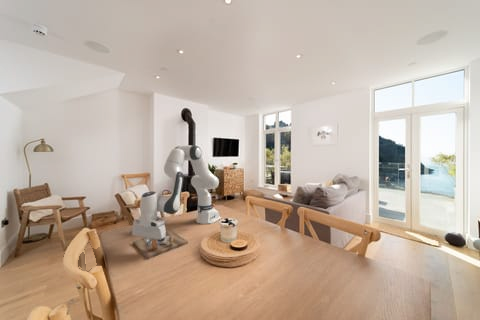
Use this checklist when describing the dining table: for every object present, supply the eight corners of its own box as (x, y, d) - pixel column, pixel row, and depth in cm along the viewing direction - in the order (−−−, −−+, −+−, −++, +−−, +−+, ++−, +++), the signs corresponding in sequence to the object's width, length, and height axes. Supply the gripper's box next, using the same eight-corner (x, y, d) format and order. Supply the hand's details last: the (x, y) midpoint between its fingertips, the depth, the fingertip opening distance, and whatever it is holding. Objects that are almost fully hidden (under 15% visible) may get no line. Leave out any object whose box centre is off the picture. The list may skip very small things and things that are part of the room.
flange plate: (155, 237, 117) (155, 228, 117) (170, 237, 118) (170, 228, 118) (145, 250, 101) (145, 240, 101) (162, 249, 102) (162, 239, 102)
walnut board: (170, 232, 130) (170, 221, 130) (187, 243, 114) (188, 231, 114) (133, 243, 112) (133, 232, 112) (147, 259, 96) (148, 245, 96)
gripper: (129, 220, 103) (128, 244, 103) (160, 224, 98) (159, 249, 98) (137, 217, 109) (137, 239, 109) (167, 220, 104) (167, 244, 104)
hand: (148, 244), depth 103 cm, fingers closed
